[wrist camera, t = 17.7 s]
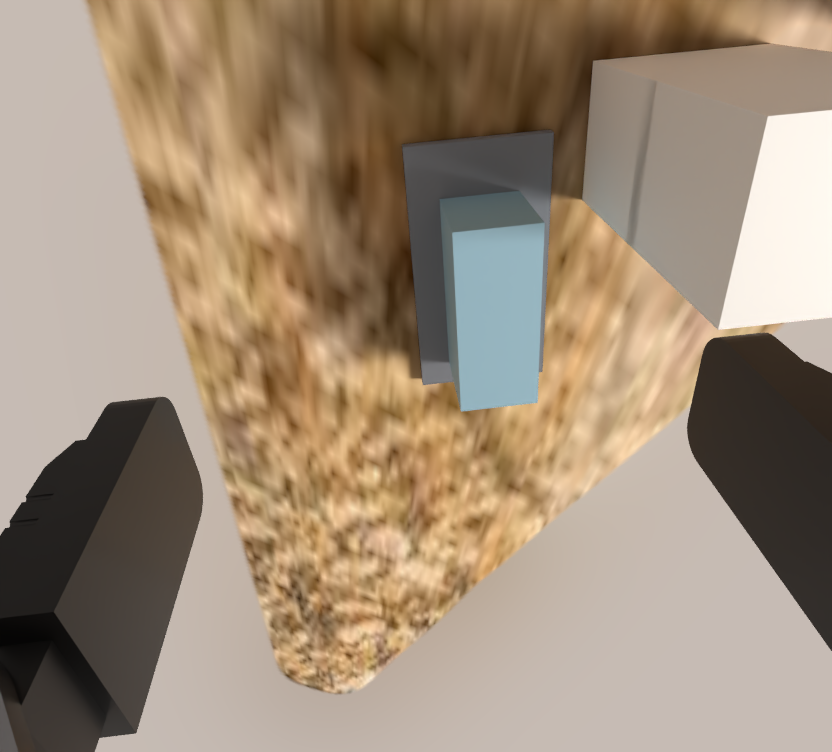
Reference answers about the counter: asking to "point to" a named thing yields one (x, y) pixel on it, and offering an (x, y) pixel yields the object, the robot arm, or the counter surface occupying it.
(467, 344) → the block
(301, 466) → the counter surface
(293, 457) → the counter surface
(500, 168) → the mat
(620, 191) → the white box
